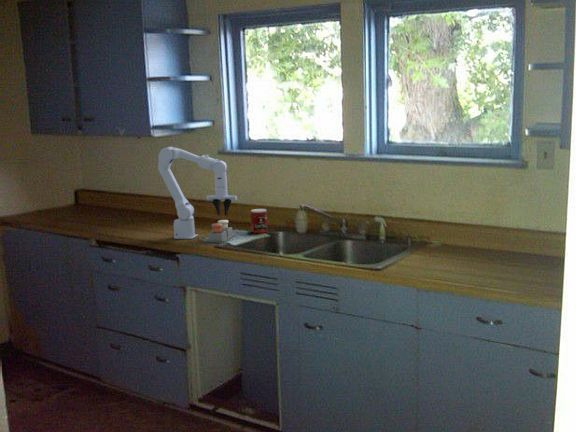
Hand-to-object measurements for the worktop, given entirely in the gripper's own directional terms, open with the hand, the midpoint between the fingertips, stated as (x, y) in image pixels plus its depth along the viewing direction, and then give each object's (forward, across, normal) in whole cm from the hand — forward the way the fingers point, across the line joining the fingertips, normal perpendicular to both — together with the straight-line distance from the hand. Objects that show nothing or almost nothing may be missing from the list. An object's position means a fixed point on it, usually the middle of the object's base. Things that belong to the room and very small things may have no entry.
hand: (222, 215), depth 319 cm
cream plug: (+7, 0, 0) cm, 7 cm away
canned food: (+11, -14, -11) cm, 21 cm away
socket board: (+10, 0, +4) cm, 11 cm away
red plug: (+7, 0, +9) cm, 11 cm away
